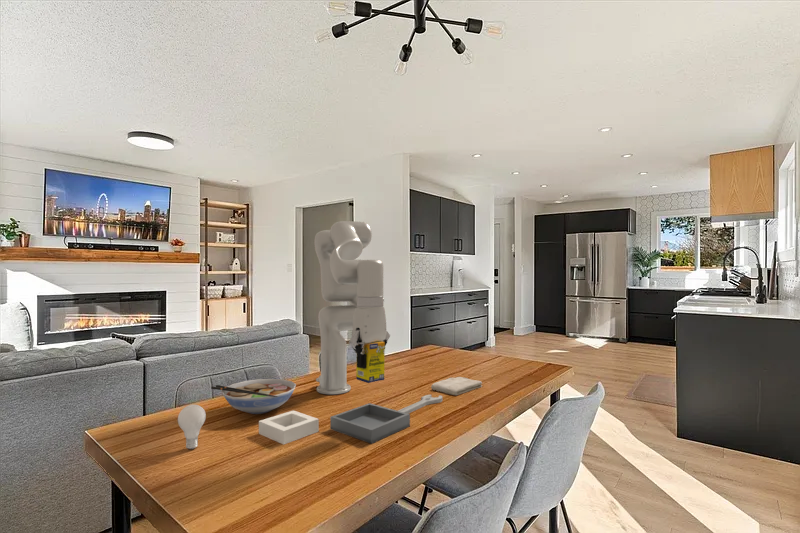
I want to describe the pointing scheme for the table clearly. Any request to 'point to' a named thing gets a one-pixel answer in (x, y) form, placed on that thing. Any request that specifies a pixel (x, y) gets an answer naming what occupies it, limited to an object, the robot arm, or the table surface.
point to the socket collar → (288, 426)
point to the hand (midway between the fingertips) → (370, 365)
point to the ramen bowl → (257, 394)
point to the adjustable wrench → (422, 403)
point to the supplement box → (372, 363)
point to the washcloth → (456, 385)
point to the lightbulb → (191, 423)
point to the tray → (370, 422)
